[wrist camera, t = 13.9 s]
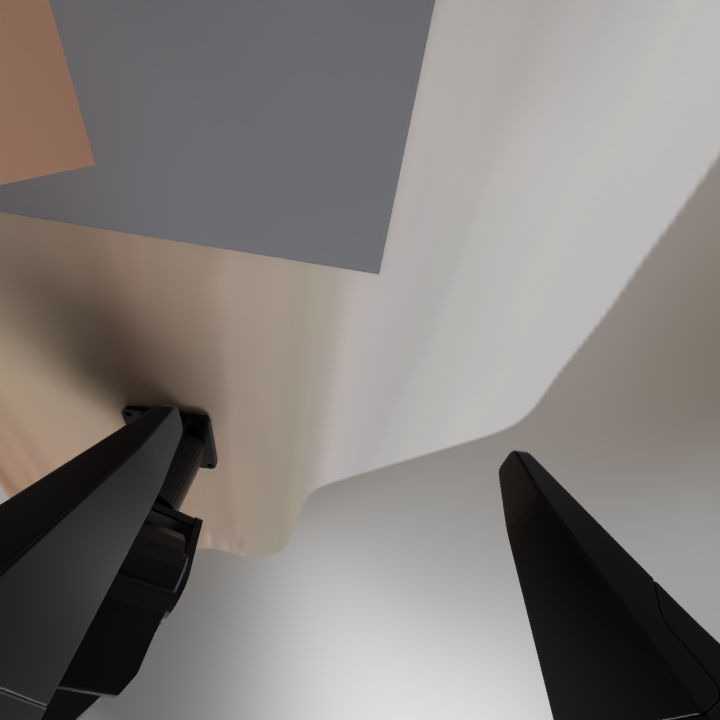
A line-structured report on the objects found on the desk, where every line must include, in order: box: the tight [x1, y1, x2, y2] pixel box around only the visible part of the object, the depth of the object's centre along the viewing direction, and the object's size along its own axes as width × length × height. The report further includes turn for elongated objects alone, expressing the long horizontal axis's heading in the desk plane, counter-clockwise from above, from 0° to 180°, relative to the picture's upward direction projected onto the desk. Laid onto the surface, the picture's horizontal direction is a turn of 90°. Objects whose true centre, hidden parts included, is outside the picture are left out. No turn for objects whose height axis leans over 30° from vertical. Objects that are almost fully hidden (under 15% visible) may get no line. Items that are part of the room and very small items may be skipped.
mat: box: [0, 0, 435, 274], centre depth 14 cm, size 12×22×1 cm, turn 81°
